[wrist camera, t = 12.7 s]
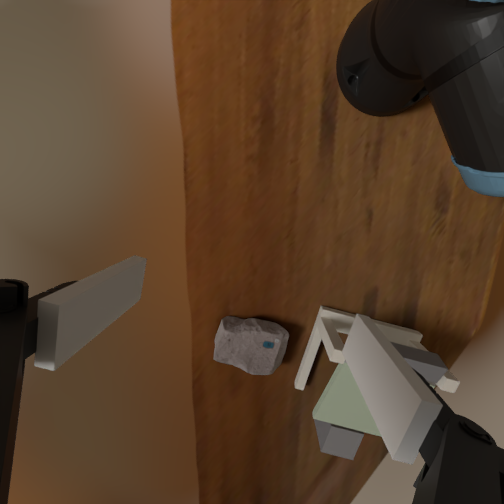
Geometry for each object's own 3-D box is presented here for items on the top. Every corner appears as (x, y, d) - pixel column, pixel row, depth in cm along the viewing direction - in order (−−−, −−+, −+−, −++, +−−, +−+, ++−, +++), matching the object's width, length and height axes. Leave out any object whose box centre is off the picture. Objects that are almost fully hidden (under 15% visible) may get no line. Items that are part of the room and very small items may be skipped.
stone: (290, 322, 49) (293, 339, 43) (278, 364, 51) (278, 385, 45) (224, 305, 49) (217, 319, 43) (214, 347, 51) (207, 366, 46)
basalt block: (321, 451, 47) (314, 419, 53) (352, 459, 47) (341, 426, 53) (331, 426, 45) (323, 395, 52) (363, 434, 45) (351, 403, 52)
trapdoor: (350, 331, 38) (355, 345, 36) (440, 354, 38) (451, 370, 36) (311, 404, 46) (313, 420, 44) (386, 424, 46) (392, 441, 44)
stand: (321, 305, 48) (337, 340, 36) (417, 330, 48) (464, 373, 36) (294, 382, 52) (302, 435, 40) (383, 405, 52) (416, 464, 40)
